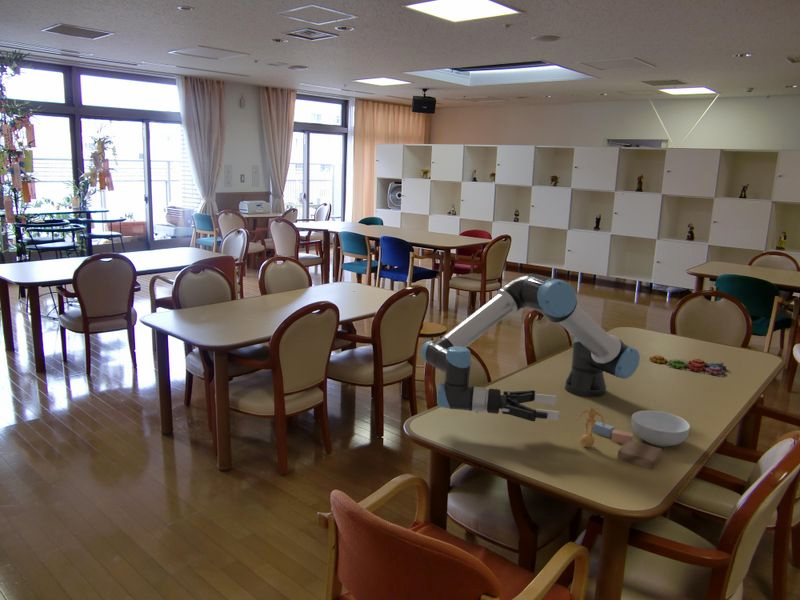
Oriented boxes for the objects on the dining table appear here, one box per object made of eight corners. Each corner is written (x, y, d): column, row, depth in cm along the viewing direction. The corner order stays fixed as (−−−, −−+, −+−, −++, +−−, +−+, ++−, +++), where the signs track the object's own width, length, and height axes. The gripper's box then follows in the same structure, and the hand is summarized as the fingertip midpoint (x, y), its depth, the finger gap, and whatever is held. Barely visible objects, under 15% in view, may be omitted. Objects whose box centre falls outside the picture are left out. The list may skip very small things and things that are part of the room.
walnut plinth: (617, 460, 184) (618, 451, 183) (626, 449, 192) (627, 439, 191) (652, 470, 178) (654, 460, 178) (660, 458, 186) (661, 448, 186)
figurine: (571, 445, 192) (575, 408, 189) (577, 438, 197) (580, 402, 194) (599, 452, 188) (603, 414, 185) (603, 445, 193) (607, 408, 190)
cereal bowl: (619, 439, 197) (622, 418, 196) (643, 426, 209) (645, 406, 207) (673, 458, 185) (676, 436, 184) (695, 442, 197) (698, 421, 196)
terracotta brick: (611, 441, 196) (612, 432, 196) (612, 438, 199) (613, 429, 198) (631, 445, 194) (632, 436, 193) (632, 442, 196) (633, 433, 196)
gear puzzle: (645, 364, 279) (646, 355, 278) (652, 356, 292) (653, 347, 291) (723, 378, 263) (725, 369, 262) (727, 369, 276) (728, 360, 275)
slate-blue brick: (591, 432, 203) (592, 423, 202) (596, 429, 205) (597, 421, 204) (608, 438, 198) (609, 429, 198) (613, 435, 201) (614, 426, 200)
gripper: (488, 398, 208) (553, 405, 204) (484, 427, 184) (558, 435, 180) (489, 376, 206) (555, 383, 203) (486, 402, 182) (561, 410, 179)
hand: (557, 407), depth 191 cm, fingers open, 13 cm apart
